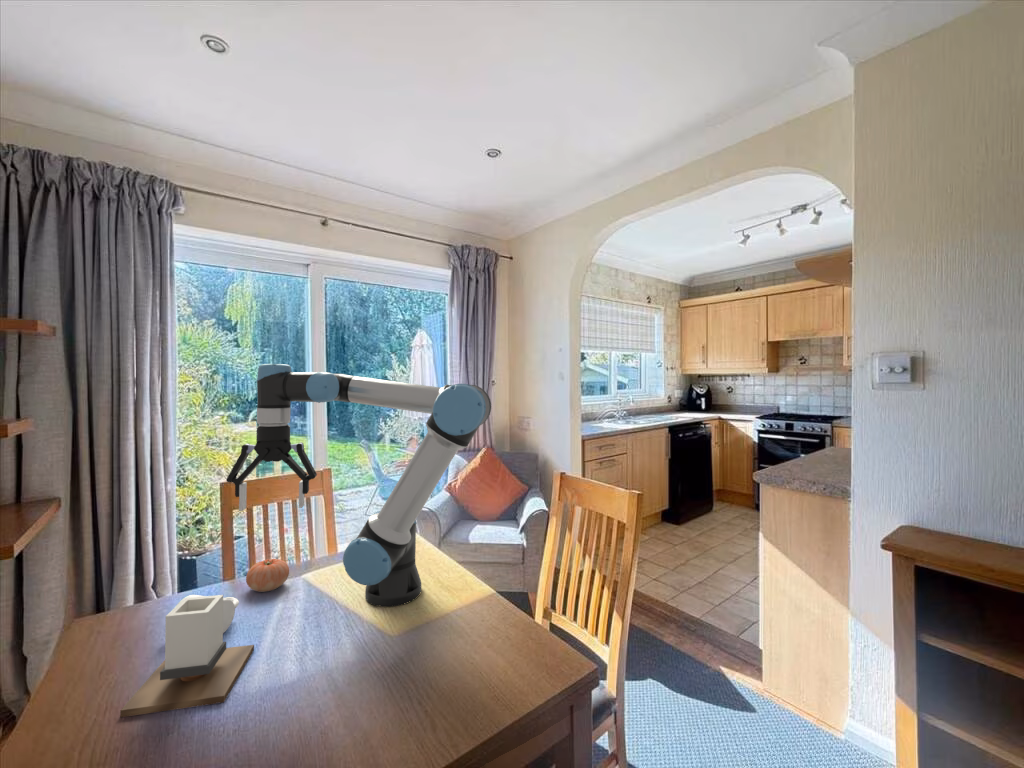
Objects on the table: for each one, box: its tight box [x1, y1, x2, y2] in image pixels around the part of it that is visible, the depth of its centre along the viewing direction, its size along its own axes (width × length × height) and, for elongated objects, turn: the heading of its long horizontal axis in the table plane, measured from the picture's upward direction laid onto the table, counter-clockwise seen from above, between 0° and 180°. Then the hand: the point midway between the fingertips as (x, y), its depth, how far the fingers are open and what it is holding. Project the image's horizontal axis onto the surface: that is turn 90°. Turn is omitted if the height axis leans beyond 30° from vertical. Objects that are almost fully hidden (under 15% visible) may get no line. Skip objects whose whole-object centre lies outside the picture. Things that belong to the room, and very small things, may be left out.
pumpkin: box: [245, 558, 290, 593], centre depth 123 cm, size 11×11×8 cm
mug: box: [175, 594, 240, 634], centre depth 103 cm, size 12×10×8 cm
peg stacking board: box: [119, 644, 255, 718], centre depth 85 cm, size 16×16×12 cm
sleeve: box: [164, 594, 224, 670], centre depth 85 cm, size 7×7×10 cm
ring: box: [160, 641, 227, 680], centre depth 85 cm, size 8×8×2 cm
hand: (272, 508), depth 110 cm, fingers open, 13 cm apart
